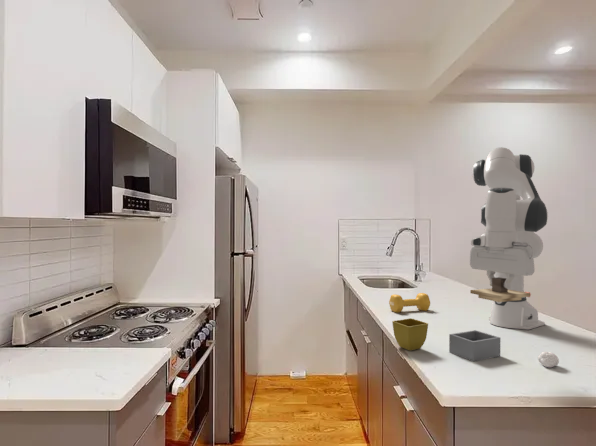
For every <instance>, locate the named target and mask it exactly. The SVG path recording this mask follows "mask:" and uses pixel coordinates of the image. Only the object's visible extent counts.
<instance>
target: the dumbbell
mask: <svg viewBox="0 0 596 446" xmlns="http://www.w3.org/2000/svg"><path fill="white" fill-rule="evenodd" d="M388 302H389V303H388V304H389V307H390V311H392V312H393V313H397V314H398V313H401V312H403V309H404V307H407V308H408V307H416V309H418V310H419V311H423V312H425V311H426V312H427V311H429V309H430V306H431V300H430V296H429V295H428V294H427V293H426V292H425V293H424V292H420V293H417V295H416V296H415V298H407V299H403V297H402V295H399V294H396V293H395V294H391V295H390V298H389V301H388Z"/></svg>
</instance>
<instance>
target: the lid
mask: <svg viewBox="0 0 596 446" xmlns="http://www.w3.org/2000/svg"><path fill="white" fill-rule="evenodd" d="M506 279H507V278H500V277H498V278H492V286H491V288H480V289H470V294H472V295H477V297H478V298H479V299H482V300H488V301H492V302H493V301H496V302H505V301H516V300H521V297H526V298H531V296H530V293H531V292H530V293H526V292H527V291H524V292H521V291H515V290H509V289H506V288H503V287H502V286H503V285H502V282H505V281H506Z"/></svg>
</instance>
